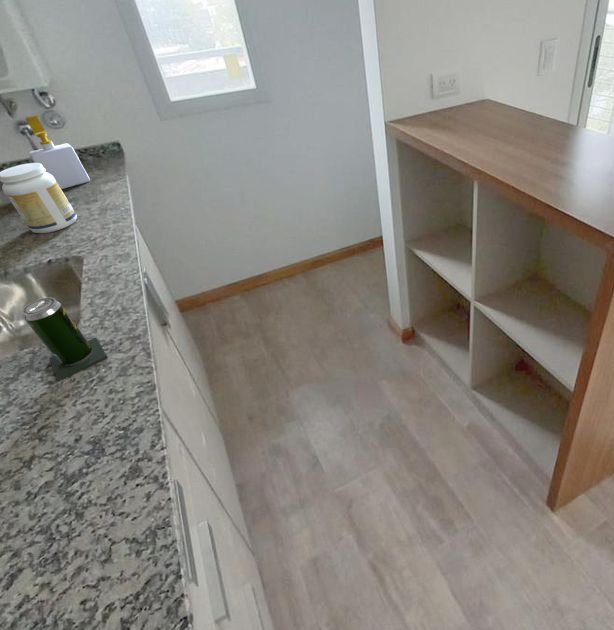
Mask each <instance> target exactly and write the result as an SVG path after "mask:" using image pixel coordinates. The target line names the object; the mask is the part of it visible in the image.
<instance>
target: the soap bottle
mask: <svg viewBox="0 0 614 630" xmlns="http://www.w3.org/2000/svg"><path fill="white" fill-rule="evenodd" d="M25 120H26V122H27V124H28V125H29V127H30V129H31V131H32V133H33V134H34V135H35V136H36V137H37V138H39V139H40V140H41V141H40V142H39V145H40V146H41V147H42V148H40V149H36V150H32V151H29V152H28V155H29V157H30V158H31V160H32V163H40V164H42V166H43V167H44V168H45V169H46V171H45V172H47V173H49V174H51V175H52V176H53V177H54V178H55V180H56V182H57V183H58V185H59V187H60V188H61V190H64V189H68V188H71V187H74V186H78V185H82V184H85V183H89V182H91V179H90V177H89V174H88V173H87V171H86V169H85V167H84V166H83V164H82V162H81V160H80V158H79V156H78V154H77V153H76V151H75V149H74V148H73V146H72V145H70V144H69V143H67V142H66V143H62V144H57V145H55V144H54V142H53V140H52V139H48V137H47V136H48V134H47V133H48V132H47V131H46V129H45V128H44V127H43V125H42V123H41V121H40V119H39V117H38V115H36V114H35V115H31V116H26V117H25Z"/></svg>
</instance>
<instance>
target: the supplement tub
mask: <svg viewBox="0 0 614 630" xmlns="http://www.w3.org/2000/svg"><path fill="white" fill-rule="evenodd" d="M45 171H46V169H45V168H44V167H43V166H42V164H40V163H34V162H29V163H23V164H18V165H15V166H11V167H8V168H5V169H3V170H1V171H0V182H1V183H2V187H1V188H2V192H3V193H4V195H5V196H6V197H7V198H8V200H9V202H11V204H12V206H13V207H14V209H15V210H16V211H17V213H18V214H19V215H20V217H21V218H22V220H23V222H24V223H25V224H26V226H27V227H28V229H29V230H30V231H31V232H32V233H34V234H49V233H53V232H58V231H60V230H63V229H65V228H67V227H70V226H71V225H73V224H74V223H76V221H77V219H78V215H77V213H76V211H75V210H74V208H73V206H72V204H71V203H70V202H69V199H68V198H67V196H66V195H65V193H64V192H63V189H61V188H60V187H59V185H58V183H57V182H56V180H55V178H54V177H53V176H52V175H51V174H49V173H47V172H45Z"/></svg>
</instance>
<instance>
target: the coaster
mask: <svg viewBox="0 0 614 630" xmlns="http://www.w3.org/2000/svg"><path fill="white" fill-rule="evenodd" d="M87 341H88V343H89V344H90V345H91V347H92V355H91V356H90V357H89V358H88V359H87V360H86V361H84V362H83V363H81V364H78V365H75V366H65V365H62V364H61V363H59V362H58V360H57V359H56V358H55V357H54V355H52V356H50V357H49V358H48V359H49V362H50V365H51V367H52V370H53V372H54V375H55V376H56V380H57V381H58V382H61V381H62V380H64V379H67V378H69V377H71V376H73V375H75V374H77V373H79V372H81V371H84V370H86V369H87V368H90V367H92V366H94V365H96V364H97V363H101V362H102V361H104V360H107V359H108V358H109V357H108V355H107V353H106V352H105V349H104V348H103V346H102V345H101V343H100V341H99V340H98V338H97V336H94V337H93V338H91V339H87Z"/></svg>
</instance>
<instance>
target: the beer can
mask: <svg viewBox="0 0 614 630" xmlns="http://www.w3.org/2000/svg"><path fill="white" fill-rule="evenodd" d="M21 314H22V315H23V320H24V321H25V322H26V323H27V324H28V325H29V327H30V328H31V329H32V331H33V332H34V333H35V334H36V336H37V337H38V338H39V339H40V340H41V342H42V343H43V344H44V346H45V347H46V348H47V349H48V350H49V352H50V353H51V355H52V356H54V357H55V358H56V359H57V360H58V362H59V363H61V364H62V365H65V366H75V365H78V364H81V363H83V362H84V361H86V360H87V359H88V358H89V357H90V356H91V355H92V347H91V345H90V344H89V343H88V339H87V338H86V337H85V335H84V334H83V333H82V331H81V330H80V329H79V327H78V326H77V324H76V323H75V322H74V320H73V319H72V317H71V315H70V314H69V313H68V312H67V310H66V309H65V308H64V306H63V305H62V303H61V302H59V301H57V300H56V298H54V297H51V296H50V297H43V298H38V299H36V300H33V301H31V302H30V303H28V304H26V305H25V306H24V307H23V308H22V310H21Z"/></svg>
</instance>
